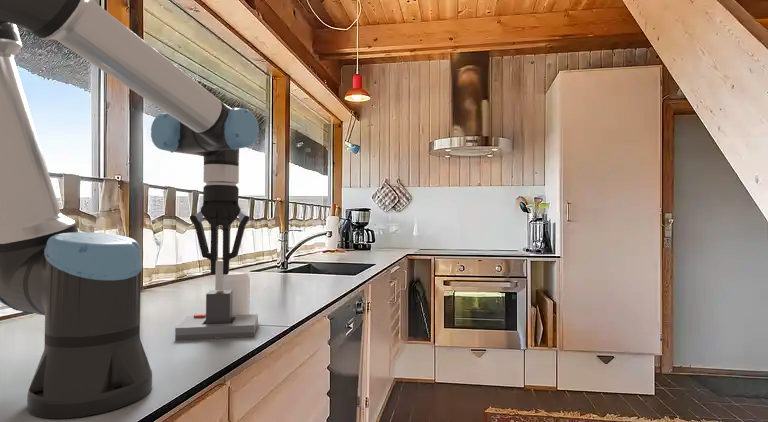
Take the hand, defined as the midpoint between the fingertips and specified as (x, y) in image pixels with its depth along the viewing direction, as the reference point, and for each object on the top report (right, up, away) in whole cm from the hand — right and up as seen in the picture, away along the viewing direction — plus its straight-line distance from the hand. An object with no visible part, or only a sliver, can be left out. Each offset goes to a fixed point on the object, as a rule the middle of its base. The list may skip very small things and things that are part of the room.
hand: (219, 289), depth 102 cm
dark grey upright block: (0, -9, 0) cm, 9 cm away
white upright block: (-1, -10, +11) cm, 15 cm away
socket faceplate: (0, -10, 0) cm, 10 cm away
